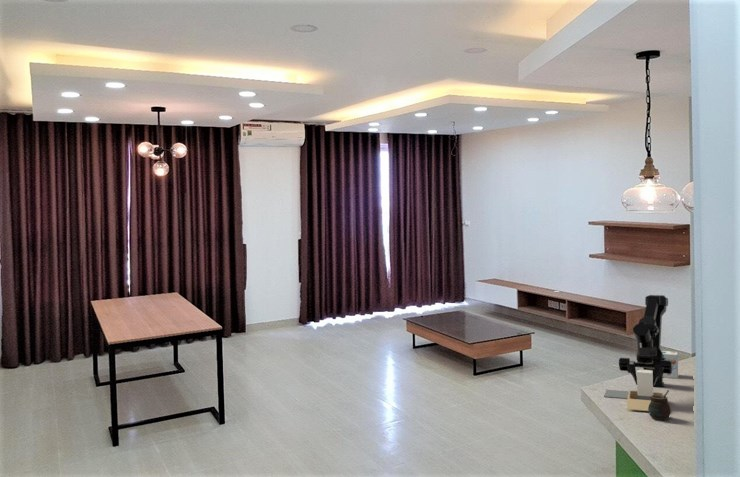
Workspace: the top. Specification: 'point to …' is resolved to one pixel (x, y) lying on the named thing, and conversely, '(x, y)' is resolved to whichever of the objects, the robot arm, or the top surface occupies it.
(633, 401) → the tan rectangular open frame
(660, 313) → the robot arm
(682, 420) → the top surface
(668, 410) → the mate gourd
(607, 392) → the mat
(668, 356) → the light bulb box
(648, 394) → the box
